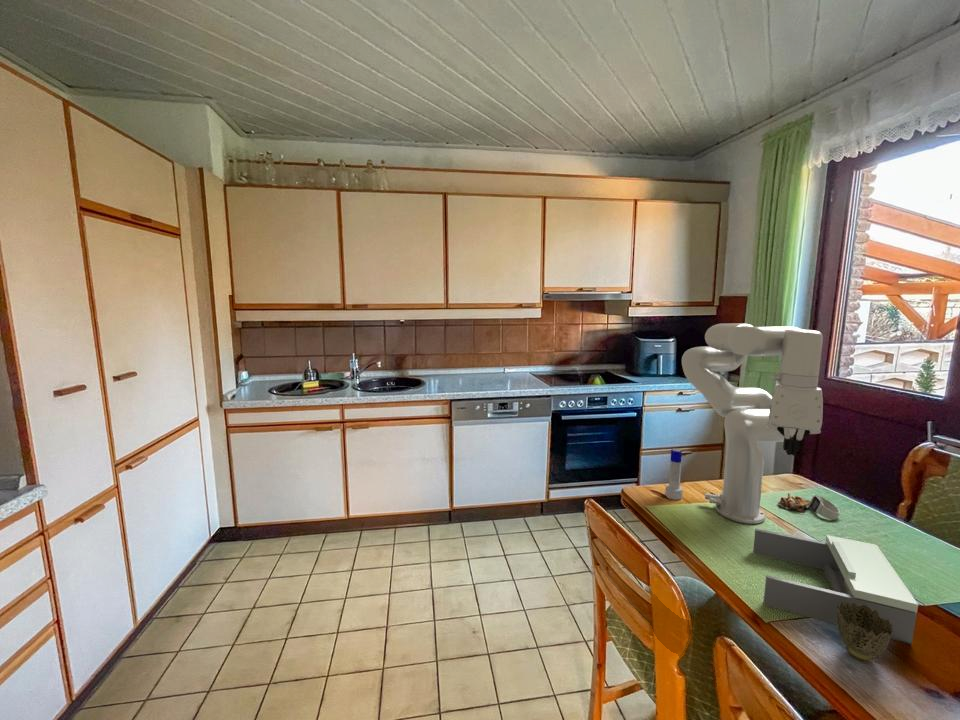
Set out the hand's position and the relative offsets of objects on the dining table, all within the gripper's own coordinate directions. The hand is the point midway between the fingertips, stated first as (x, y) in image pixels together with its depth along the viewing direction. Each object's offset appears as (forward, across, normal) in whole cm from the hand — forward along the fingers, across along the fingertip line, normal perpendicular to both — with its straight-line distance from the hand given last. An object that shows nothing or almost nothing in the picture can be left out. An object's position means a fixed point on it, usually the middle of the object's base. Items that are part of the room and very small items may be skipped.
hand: (790, 453), depth 106 cm
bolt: (+25, -26, +18) cm, 40 cm away
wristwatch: (+26, +14, +26) cm, 39 cm away
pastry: (+26, +8, +29) cm, 39 cm away
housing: (+25, +5, -16) cm, 30 cm away
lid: (+19, +12, -16) cm, 27 cm away
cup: (+25, +7, -34) cm, 43 cm away
